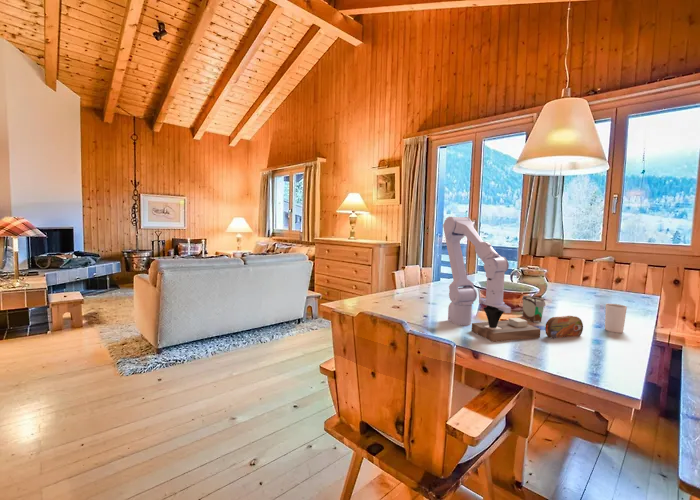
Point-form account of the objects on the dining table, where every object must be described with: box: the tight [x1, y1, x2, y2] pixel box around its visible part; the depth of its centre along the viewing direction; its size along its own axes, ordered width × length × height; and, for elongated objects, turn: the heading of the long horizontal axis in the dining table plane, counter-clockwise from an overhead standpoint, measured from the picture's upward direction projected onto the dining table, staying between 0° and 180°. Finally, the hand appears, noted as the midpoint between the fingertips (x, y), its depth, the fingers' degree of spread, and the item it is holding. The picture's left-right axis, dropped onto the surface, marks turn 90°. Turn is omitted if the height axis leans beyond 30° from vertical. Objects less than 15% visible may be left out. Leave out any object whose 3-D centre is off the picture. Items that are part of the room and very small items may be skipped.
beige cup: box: [604, 303, 628, 334], centre depth 137 cm, size 7×7×10 cm
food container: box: [521, 295, 546, 324], centre depth 147 cm, size 12×6×10 cm, turn 179°
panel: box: [471, 319, 542, 343], centre depth 128 cm, size 12×20×4 cm, turn 106°
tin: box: [544, 315, 584, 340], centre depth 126 cm, size 15×3×8 cm, turn 105°
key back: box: [508, 317, 528, 328], centre depth 129 cm, size 4×4×3 cm
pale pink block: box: [484, 325, 502, 330], centre depth 126 cm, size 4×4×3 cm
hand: (492, 327), depth 126 cm, fingers closed, pressing on pale pink block
